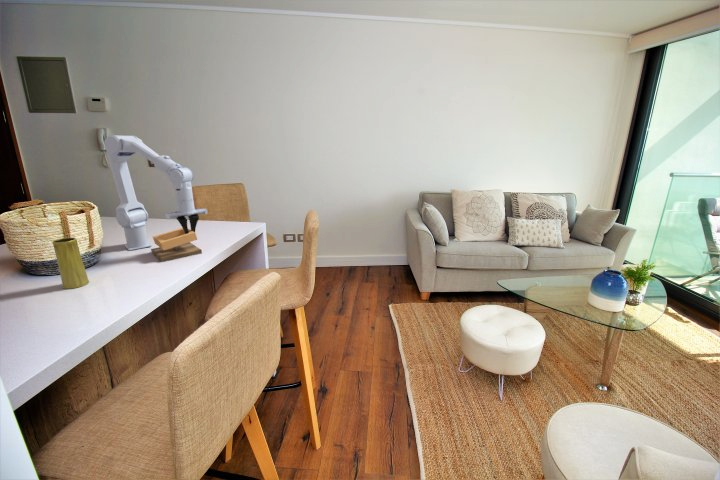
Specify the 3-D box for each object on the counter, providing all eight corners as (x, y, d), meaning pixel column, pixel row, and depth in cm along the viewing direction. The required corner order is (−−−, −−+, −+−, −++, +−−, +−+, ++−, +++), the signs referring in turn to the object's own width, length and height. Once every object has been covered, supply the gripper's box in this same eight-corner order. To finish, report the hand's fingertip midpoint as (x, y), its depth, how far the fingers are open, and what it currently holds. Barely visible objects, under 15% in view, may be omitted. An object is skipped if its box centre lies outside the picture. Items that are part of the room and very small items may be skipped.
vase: (74, 290, 93) (61, 243, 89) (57, 287, 95) (44, 242, 90) (94, 281, 99) (83, 237, 95) (78, 279, 100) (67, 236, 96)
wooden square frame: (155, 243, 124) (152, 236, 123) (187, 233, 132) (184, 227, 131) (163, 250, 116) (161, 242, 115) (197, 239, 124) (195, 232, 123)
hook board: (151, 252, 125) (148, 238, 123) (189, 245, 135) (187, 231, 133) (161, 261, 116) (158, 246, 114) (201, 253, 125) (199, 238, 124)
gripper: (166, 203, 114) (172, 239, 118) (208, 199, 124) (212, 232, 128) (161, 200, 118) (167, 235, 122) (201, 196, 128) (206, 229, 132)
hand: (190, 234), depth 125 cm, fingers closed on wooden square frame, 2 cm apart
